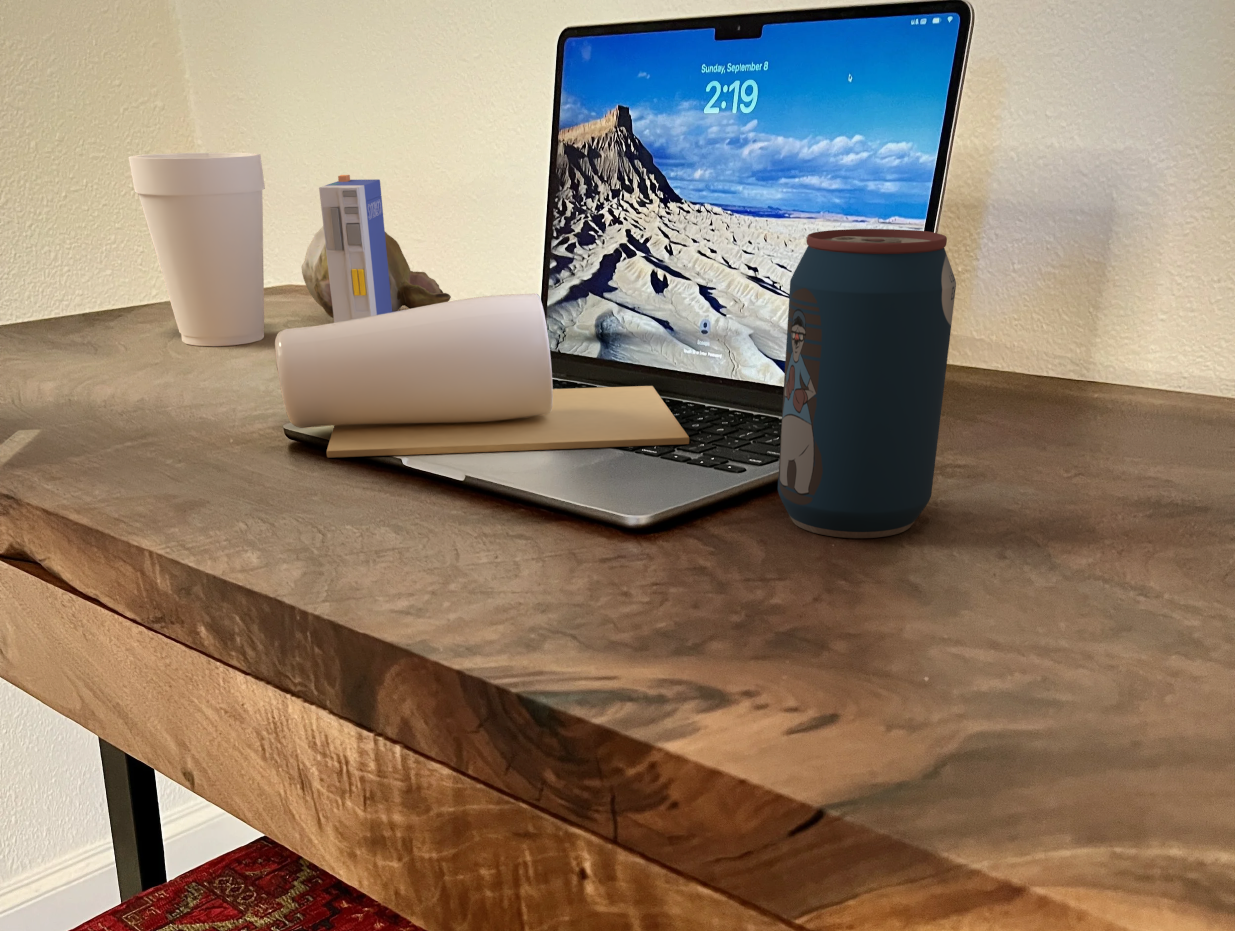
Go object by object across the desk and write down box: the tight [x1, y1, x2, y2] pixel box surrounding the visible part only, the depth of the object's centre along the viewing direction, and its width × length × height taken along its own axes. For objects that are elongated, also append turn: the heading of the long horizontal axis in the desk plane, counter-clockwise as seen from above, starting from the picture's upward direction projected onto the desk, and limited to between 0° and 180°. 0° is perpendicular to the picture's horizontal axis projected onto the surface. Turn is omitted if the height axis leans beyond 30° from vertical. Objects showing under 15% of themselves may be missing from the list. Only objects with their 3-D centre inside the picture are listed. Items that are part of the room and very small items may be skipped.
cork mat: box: [326, 385, 690, 459], centre depth 76 cm, size 20×14×1 cm
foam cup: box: [128, 151, 266, 347], centre depth 98 cm, size 10×9×13 cm
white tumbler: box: [274, 292, 554, 429], centre depth 72 cm, size 7×7×15 cm
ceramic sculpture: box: [301, 226, 452, 319], centre depth 107 cm, size 11×9×15 cm
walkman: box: [318, 174, 392, 323], centre depth 90 cm, size 8×3×12 cm, turn 179°
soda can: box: [777, 228, 957, 539], centre depth 55 cm, size 7×7×12 cm
